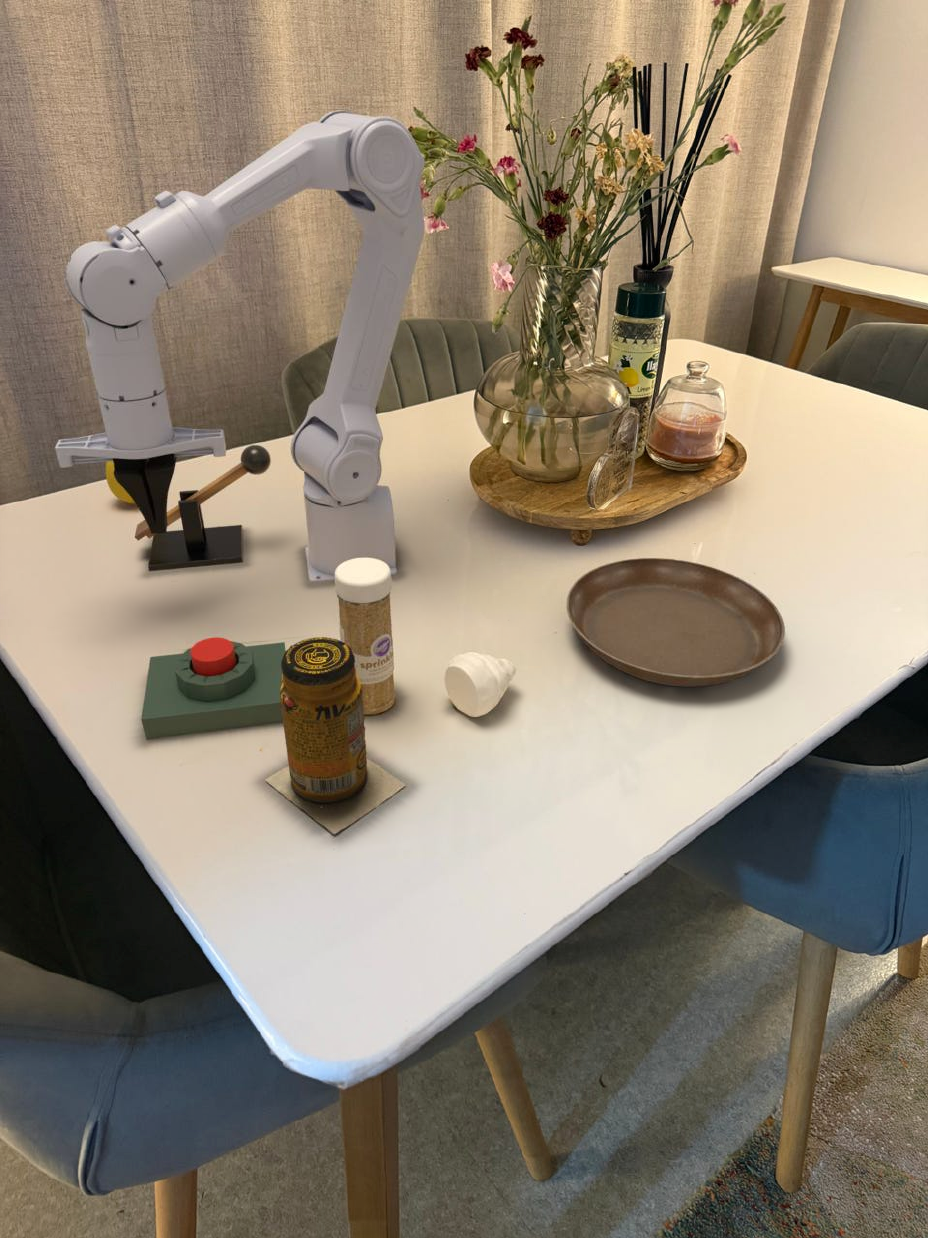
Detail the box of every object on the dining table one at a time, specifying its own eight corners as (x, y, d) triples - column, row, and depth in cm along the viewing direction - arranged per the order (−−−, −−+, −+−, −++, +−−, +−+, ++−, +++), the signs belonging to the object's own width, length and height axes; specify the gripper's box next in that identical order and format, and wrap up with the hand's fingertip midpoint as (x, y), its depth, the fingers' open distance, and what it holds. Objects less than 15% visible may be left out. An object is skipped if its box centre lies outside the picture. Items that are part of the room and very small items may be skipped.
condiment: (336, 737, 74) (324, 618, 68) (406, 786, 70) (401, 663, 63) (265, 782, 70) (245, 658, 63) (334, 837, 65) (321, 710, 58)
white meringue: (531, 700, 79) (534, 649, 76) (482, 730, 75) (484, 678, 72) (487, 673, 82) (489, 624, 79) (439, 700, 79) (439, 650, 76)
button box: (287, 661, 84) (282, 625, 81) (291, 721, 76) (286, 684, 74) (154, 676, 81) (146, 640, 79) (146, 739, 74) (136, 702, 72)
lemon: (146, 516, 108) (133, 455, 104) (104, 512, 109) (90, 451, 105) (167, 497, 113) (156, 438, 109) (127, 493, 114) (114, 434, 110)
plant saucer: (825, 662, 84) (833, 633, 82) (655, 730, 75) (660, 700, 74) (680, 567, 99) (684, 540, 97) (524, 615, 90) (525, 587, 89)
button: (236, 651, 79) (233, 635, 78) (236, 675, 76) (233, 658, 75) (194, 656, 78) (191, 639, 77) (192, 680, 75) (189, 663, 74)
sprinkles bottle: (377, 723, 76) (369, 588, 69) (334, 706, 78) (322, 574, 71) (406, 694, 79) (401, 563, 72) (364, 679, 81) (355, 550, 74)
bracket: (242, 532, 105) (234, 477, 101) (243, 564, 99) (234, 507, 95) (155, 539, 104) (143, 484, 100) (149, 573, 97) (137, 515, 93)
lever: (276, 457, 99) (258, 434, 97) (277, 468, 96) (258, 445, 94) (152, 540, 101) (132, 519, 99) (150, 553, 98) (129, 532, 97)
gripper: (217, 372, 82) (236, 504, 90) (52, 380, 80) (86, 516, 87) (215, 397, 77) (236, 536, 84) (37, 407, 74) (74, 550, 82)
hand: (159, 528), depth 85 cm, fingers closed
